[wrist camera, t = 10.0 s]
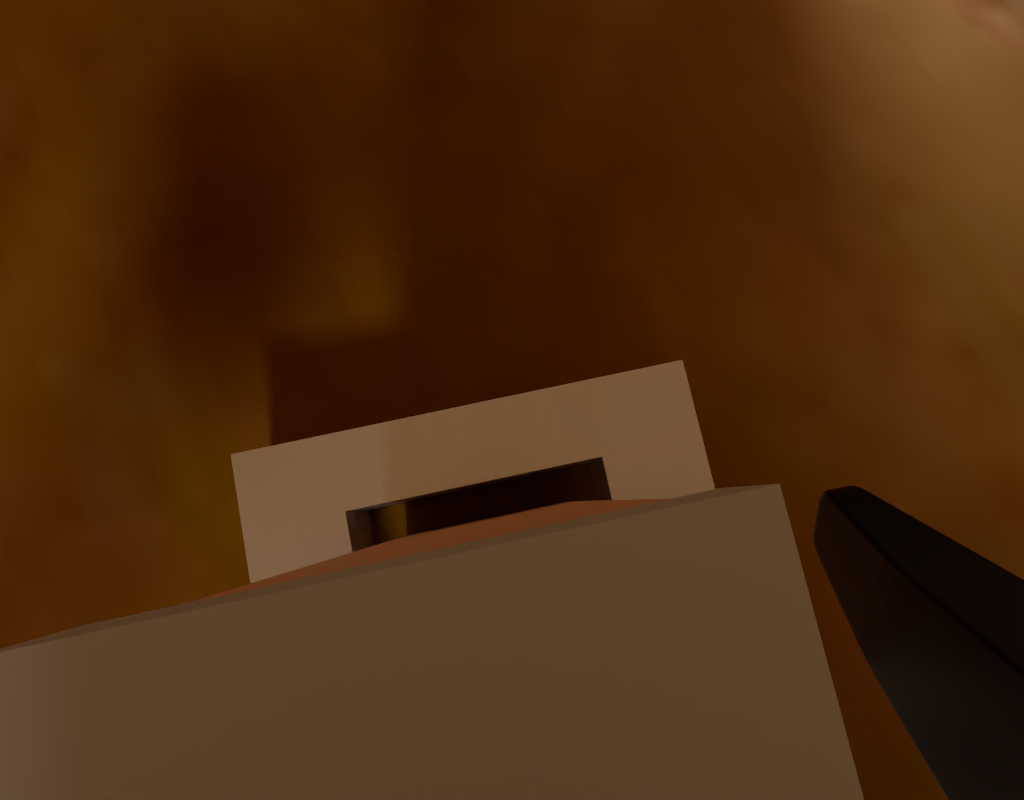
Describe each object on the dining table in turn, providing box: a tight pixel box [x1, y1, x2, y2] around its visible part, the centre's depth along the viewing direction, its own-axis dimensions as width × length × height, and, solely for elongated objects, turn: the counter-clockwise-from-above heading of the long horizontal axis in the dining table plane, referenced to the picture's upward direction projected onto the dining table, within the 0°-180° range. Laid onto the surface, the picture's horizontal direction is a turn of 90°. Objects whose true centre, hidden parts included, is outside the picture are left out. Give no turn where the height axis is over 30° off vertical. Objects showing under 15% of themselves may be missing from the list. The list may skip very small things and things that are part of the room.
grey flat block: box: [231, 360, 715, 583], centre depth 15 cm, size 16×10×3 cm, turn 12°
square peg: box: [0, 484, 864, 800], centre depth 10 cm, size 4×4×14 cm
